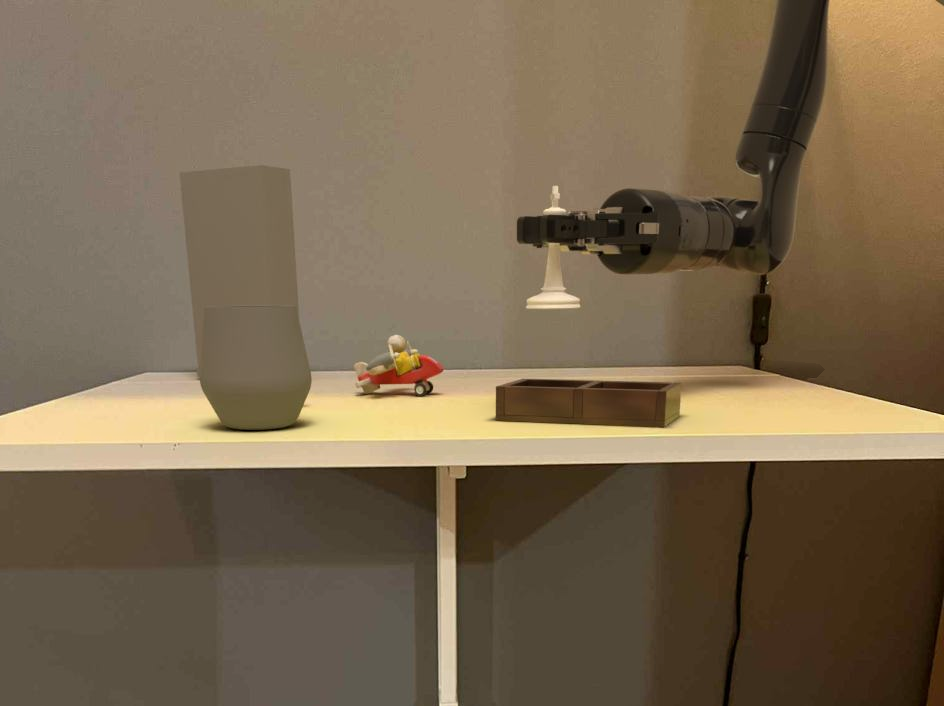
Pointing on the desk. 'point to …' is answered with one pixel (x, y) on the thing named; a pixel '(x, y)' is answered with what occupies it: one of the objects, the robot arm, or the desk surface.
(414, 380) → the toy airplane
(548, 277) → the chess piece
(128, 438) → the desk surface
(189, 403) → the desk surface
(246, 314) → the cup
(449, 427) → the desk surface
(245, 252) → the khaki block
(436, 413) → the desk surface
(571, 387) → the divided tray
